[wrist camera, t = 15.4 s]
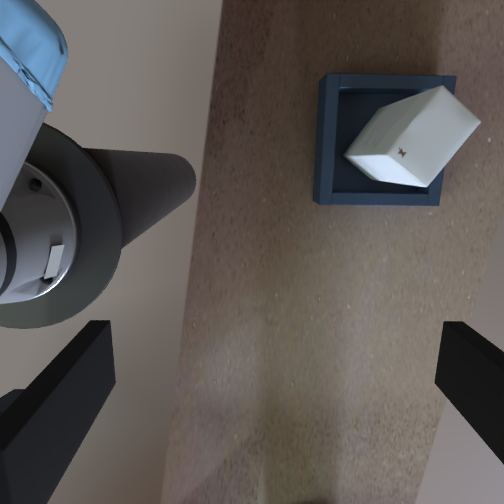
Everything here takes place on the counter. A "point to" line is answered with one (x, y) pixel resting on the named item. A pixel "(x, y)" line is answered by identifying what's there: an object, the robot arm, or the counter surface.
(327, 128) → the holder
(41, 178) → the robot arm
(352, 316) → the counter surface
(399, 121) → the cosmetic box
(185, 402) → the counter surface
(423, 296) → the counter surface
